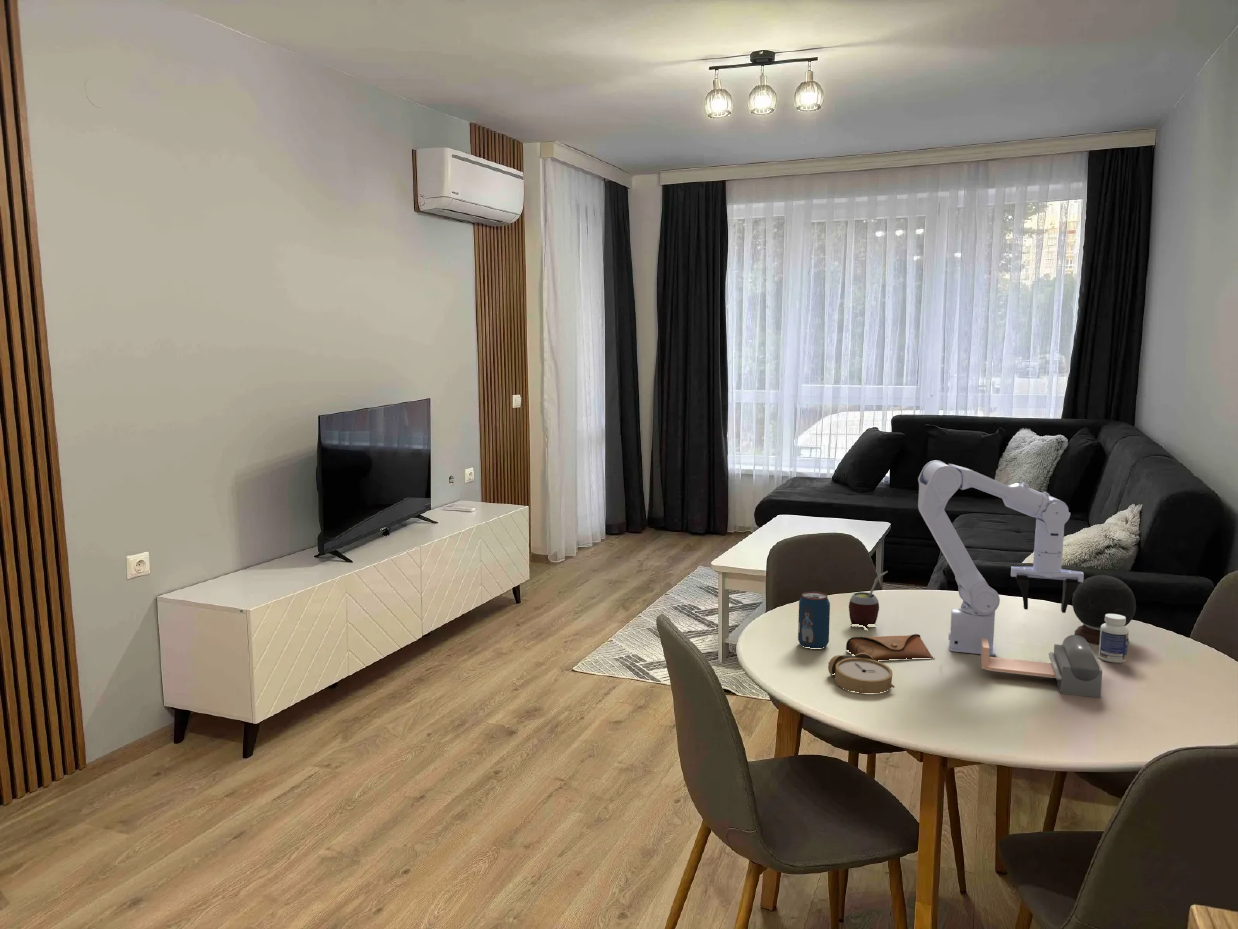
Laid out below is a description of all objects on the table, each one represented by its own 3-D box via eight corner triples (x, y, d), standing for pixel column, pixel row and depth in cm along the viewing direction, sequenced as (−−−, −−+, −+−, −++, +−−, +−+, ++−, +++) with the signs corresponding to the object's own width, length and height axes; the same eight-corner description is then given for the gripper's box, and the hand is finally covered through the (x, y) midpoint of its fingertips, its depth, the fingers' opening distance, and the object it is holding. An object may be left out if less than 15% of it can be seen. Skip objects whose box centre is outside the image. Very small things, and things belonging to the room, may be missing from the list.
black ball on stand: (1146, 645, 206) (1152, 581, 204) (1098, 649, 202) (1103, 585, 200) (1103, 627, 218) (1107, 567, 216) (1057, 631, 215) (1061, 570, 213)
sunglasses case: (861, 663, 194) (855, 633, 196) (849, 669, 200) (843, 640, 202) (938, 659, 197) (931, 628, 199) (923, 665, 203) (917, 635, 206)
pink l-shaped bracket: (981, 669, 185) (983, 648, 185) (980, 658, 192) (981, 637, 191) (1056, 678, 181) (1058, 656, 180) (1052, 666, 187) (1054, 645, 187)
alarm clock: (853, 684, 175) (818, 647, 189) (850, 706, 176) (816, 667, 190) (904, 679, 178) (866, 642, 191) (901, 701, 179) (863, 662, 193)
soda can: (826, 641, 208) (828, 591, 207) (830, 651, 202) (832, 599, 200) (796, 640, 209) (797, 590, 208) (799, 650, 202) (800, 598, 201)
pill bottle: (1130, 664, 193) (1133, 620, 192) (1102, 662, 194) (1106, 619, 193) (1121, 655, 198) (1124, 613, 197) (1095, 654, 200) (1098, 612, 198)
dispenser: (1055, 692, 178) (1057, 653, 177) (1047, 668, 191) (1049, 632, 190) (1100, 697, 175) (1103, 658, 174) (1089, 673, 188) (1092, 636, 187)
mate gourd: (845, 622, 222) (847, 563, 220) (877, 622, 222) (879, 563, 220) (852, 632, 215) (855, 571, 213) (885, 632, 215) (888, 571, 213)
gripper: (1014, 552, 198) (1010, 611, 199) (1087, 557, 193) (1083, 618, 195) (1011, 545, 204) (1008, 603, 206) (1082, 550, 199) (1078, 609, 201)
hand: (1044, 610), depth 201 cm, fingers open, 7 cm apart
